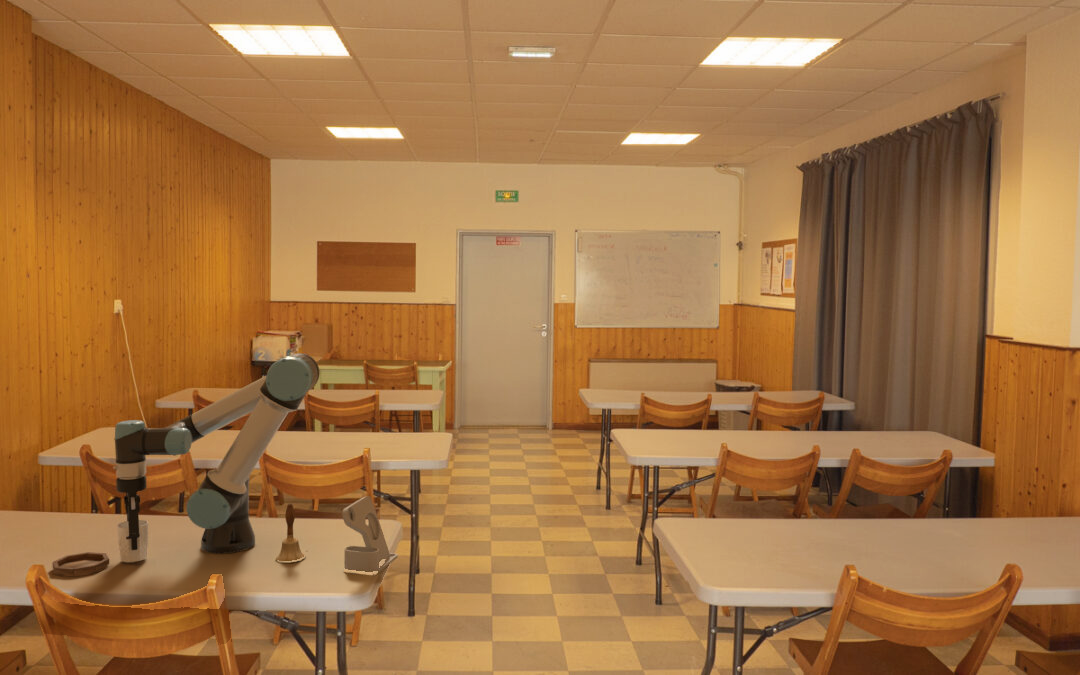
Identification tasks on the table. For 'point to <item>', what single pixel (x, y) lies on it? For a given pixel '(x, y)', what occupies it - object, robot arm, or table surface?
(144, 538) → the white cup
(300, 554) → the hand bell
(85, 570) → the coaster ring
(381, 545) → the phone holder
